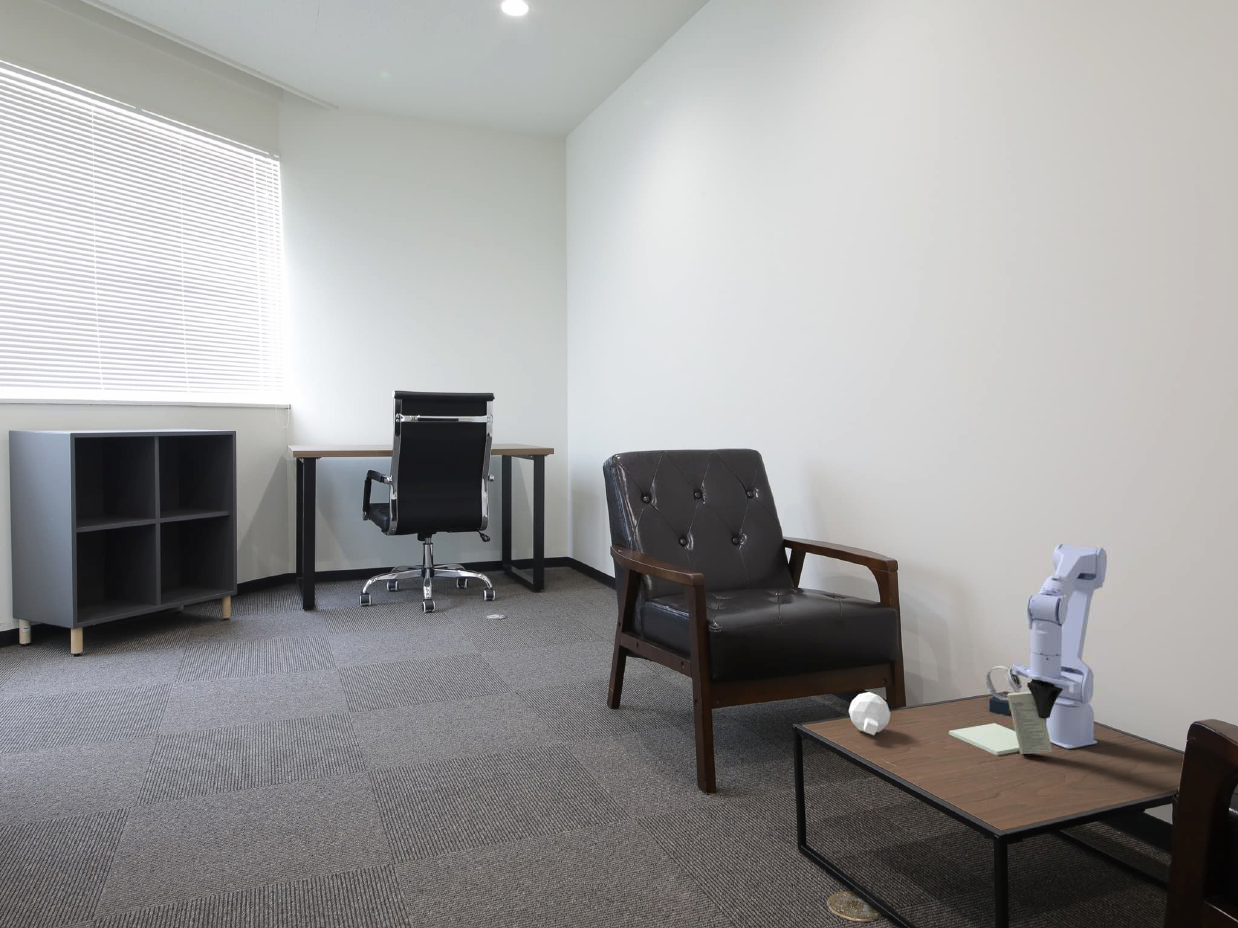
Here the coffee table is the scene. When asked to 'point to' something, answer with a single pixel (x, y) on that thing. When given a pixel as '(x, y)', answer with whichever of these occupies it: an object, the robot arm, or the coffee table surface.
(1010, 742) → the mat
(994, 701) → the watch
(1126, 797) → the coffee table surface
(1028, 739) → the skincare box
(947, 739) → the coffee table surface
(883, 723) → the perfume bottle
